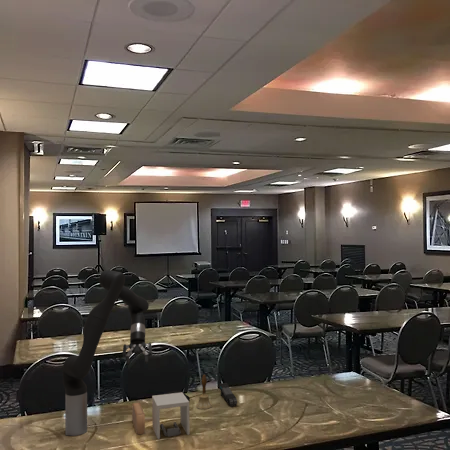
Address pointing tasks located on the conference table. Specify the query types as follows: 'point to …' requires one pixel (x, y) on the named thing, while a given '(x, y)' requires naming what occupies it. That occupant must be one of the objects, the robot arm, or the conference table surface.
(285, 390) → the conference table surface
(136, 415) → the rounded end wooden stick
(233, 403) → the gun
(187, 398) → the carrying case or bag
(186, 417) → the grey arch stand
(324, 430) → the conference table surface
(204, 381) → the hand bell
